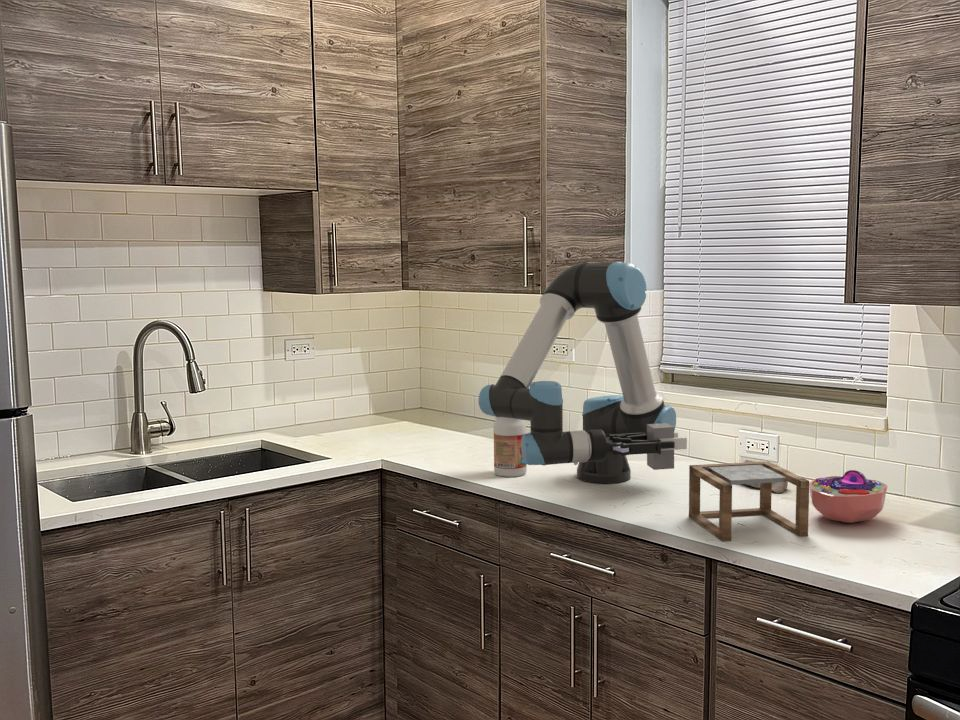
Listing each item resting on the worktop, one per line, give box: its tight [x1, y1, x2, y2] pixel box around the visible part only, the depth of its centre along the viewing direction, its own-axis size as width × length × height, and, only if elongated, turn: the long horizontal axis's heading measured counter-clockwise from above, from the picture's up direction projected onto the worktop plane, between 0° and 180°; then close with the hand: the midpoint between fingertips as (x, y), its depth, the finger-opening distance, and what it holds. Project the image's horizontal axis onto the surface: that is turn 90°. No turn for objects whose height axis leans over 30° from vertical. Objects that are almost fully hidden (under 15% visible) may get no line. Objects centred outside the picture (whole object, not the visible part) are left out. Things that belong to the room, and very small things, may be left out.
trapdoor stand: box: [688, 460, 810, 542], centre depth 215 cm, size 20×20×12 cm
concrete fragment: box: [743, 459, 789, 494], centre depth 251 cm, size 8×16×7 cm, turn 31°
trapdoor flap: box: [705, 465, 786, 486], centre depth 215 cm, size 14×14×1 cm
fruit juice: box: [493, 417, 527, 478], centre depth 268 cm, size 9×9×28 cm
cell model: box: [809, 469, 888, 524], centre depth 219 cm, size 17×20×11 cm
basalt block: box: [646, 423, 675, 471], centre depth 222 cm, size 5×5×10 cm
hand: (681, 440), depth 223 cm, fingers closed on basalt block, 5 cm apart
